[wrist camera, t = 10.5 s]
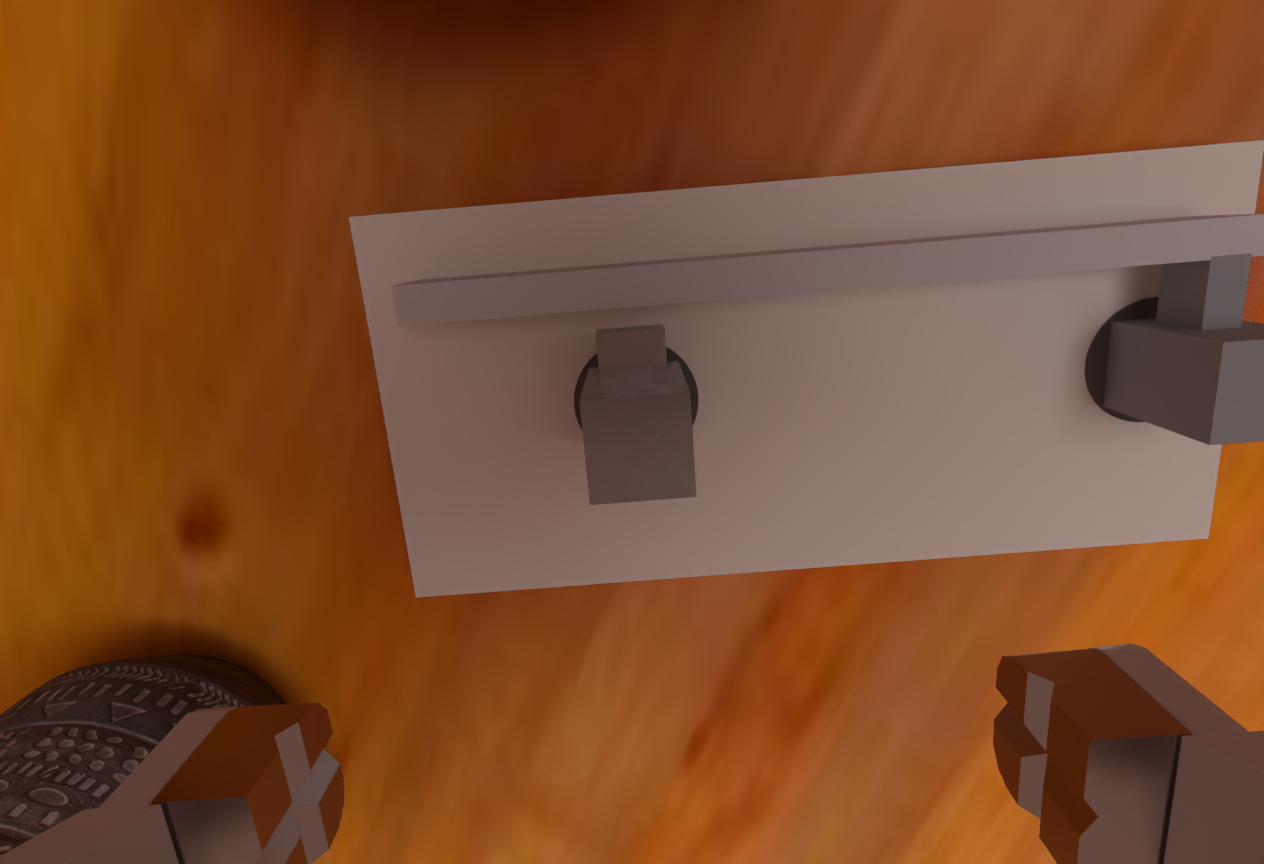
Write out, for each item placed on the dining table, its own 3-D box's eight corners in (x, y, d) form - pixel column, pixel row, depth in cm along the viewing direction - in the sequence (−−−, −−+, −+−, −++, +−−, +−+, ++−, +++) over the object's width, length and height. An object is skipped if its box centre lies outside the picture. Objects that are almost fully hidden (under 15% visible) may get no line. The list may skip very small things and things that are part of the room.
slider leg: (674, 314, 24) (687, 336, 19) (682, 442, 26) (696, 496, 20) (585, 321, 24) (573, 346, 19) (597, 449, 26) (589, 505, 20)
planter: (183, 557, 29) (-138, 790, 17) (402, 745, 32) (260, 1069, 20) (5, 729, 32) (-394, 1047, 19) (224, 893, 34) (-6, 1270, 22)
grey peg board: (1216, 147, 25) (1429, 116, 19) (1170, 518, 29) (1332, 604, 22) (369, 218, 26) (278, 213, 19) (429, 573, 30) (371, 674, 23)
